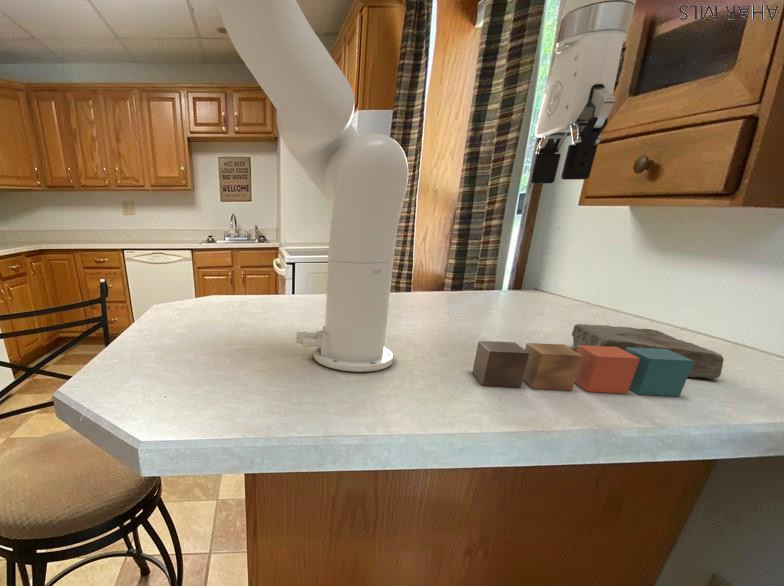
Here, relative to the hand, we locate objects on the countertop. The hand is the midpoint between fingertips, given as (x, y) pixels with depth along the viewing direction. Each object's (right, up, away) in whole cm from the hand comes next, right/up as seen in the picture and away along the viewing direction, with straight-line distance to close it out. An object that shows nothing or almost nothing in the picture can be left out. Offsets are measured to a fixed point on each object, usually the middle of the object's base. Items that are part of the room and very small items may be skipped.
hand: (556, 181), depth 60 cm
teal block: (+11, -30, -2) cm, 31 cm away
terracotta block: (+4, -29, -2) cm, 30 cm away
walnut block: (-9, -28, 0) cm, 30 cm away
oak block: (-2, -29, -1) cm, 29 cm away
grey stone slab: (+18, -25, +9) cm, 32 cm away
